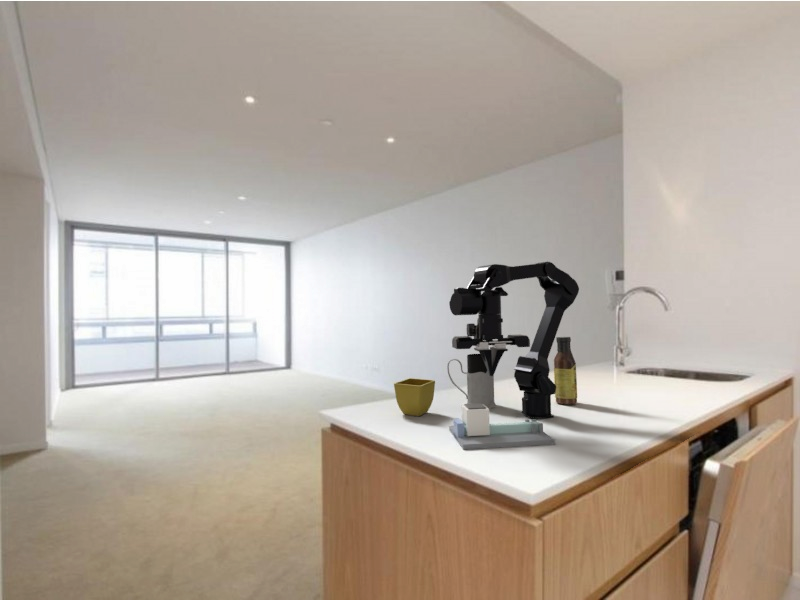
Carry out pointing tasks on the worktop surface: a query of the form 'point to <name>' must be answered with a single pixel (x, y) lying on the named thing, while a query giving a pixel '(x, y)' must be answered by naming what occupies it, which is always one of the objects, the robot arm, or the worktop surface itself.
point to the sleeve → (476, 419)
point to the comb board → (503, 435)
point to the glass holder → (477, 381)
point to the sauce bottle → (565, 373)
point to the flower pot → (414, 395)
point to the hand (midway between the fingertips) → (491, 375)
